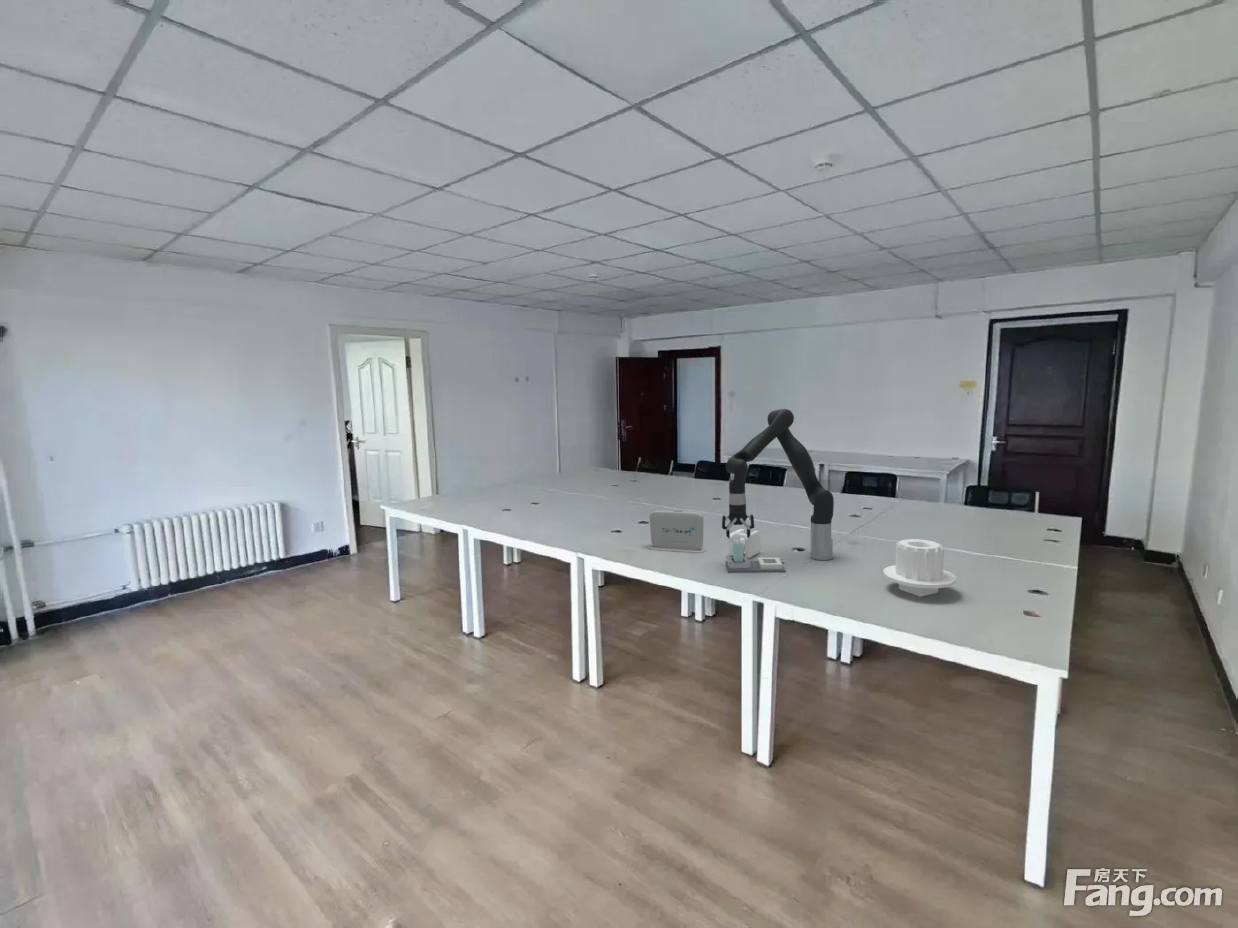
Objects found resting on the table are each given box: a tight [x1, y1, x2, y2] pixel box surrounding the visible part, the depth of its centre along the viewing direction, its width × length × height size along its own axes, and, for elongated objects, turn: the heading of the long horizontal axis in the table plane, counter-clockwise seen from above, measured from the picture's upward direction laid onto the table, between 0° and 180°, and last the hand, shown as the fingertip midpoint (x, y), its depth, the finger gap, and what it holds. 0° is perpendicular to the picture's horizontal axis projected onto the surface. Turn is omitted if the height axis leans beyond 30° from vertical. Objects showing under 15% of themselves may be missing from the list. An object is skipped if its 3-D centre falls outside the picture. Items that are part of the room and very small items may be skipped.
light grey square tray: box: [756, 557, 783, 569], centre depth 257 cm, size 10×10×2 cm
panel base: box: [724, 560, 786, 574], centre depth 258 cm, size 25×14×1 cm, turn 84°
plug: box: [732, 543, 744, 562], centre depth 258 cm, size 4×5×10 cm
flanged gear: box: [882, 538, 957, 598], centre depth 220 cm, size 25×25×19 cm
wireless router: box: [647, 509, 708, 554], centre depth 292 cm, size 31×10×20 cm, turn 68°
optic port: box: [726, 556, 750, 569], centre depth 259 cm, size 10×10×3 cm
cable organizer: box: [727, 528, 761, 560], centre depth 278 cm, size 15×11×12 cm
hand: (738, 537), depth 257 cm, fingers open, 8 cm apart
